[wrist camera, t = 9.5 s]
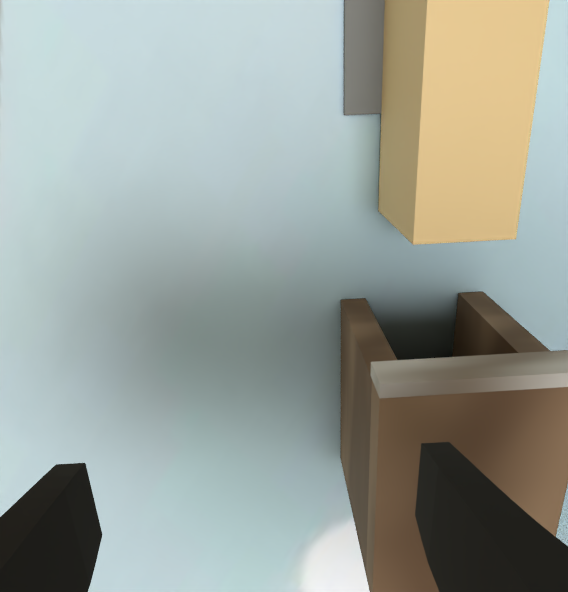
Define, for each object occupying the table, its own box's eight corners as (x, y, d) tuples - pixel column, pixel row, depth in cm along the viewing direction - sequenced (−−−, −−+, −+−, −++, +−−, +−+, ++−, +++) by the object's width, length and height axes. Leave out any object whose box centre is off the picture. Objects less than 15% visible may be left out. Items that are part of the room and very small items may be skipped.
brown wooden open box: (484, 281, 20) (593, 371, 13) (463, 450, 23) (543, 589, 16) (340, 289, 20) (379, 384, 13) (340, 458, 23) (371, 601, 16)
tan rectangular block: (498, -217, 14) (601, -351, 10) (459, 206, 18) (517, 238, 14) (389, -214, 14) (445, -347, 10) (377, 210, 18) (411, 244, 14)
